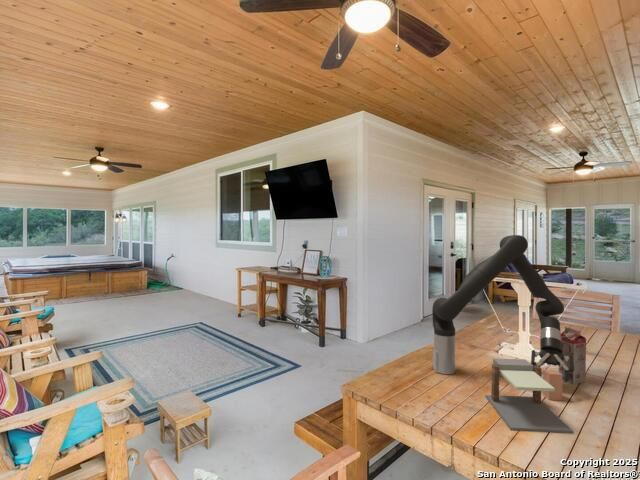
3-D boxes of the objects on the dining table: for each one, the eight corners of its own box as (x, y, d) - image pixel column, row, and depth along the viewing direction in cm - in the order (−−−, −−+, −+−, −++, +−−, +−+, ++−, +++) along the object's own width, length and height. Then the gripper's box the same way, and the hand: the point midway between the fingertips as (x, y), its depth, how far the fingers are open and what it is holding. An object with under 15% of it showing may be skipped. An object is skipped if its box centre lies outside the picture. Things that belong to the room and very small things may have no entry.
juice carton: (573, 383, 144) (574, 332, 143) (558, 377, 150) (559, 327, 150) (585, 381, 146) (586, 330, 145) (570, 375, 152) (571, 326, 151)
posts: (493, 403, 128) (494, 366, 128) (491, 400, 131) (491, 364, 130) (541, 405, 127) (541, 368, 126) (537, 402, 129) (538, 365, 129)
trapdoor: (492, 371, 135) (493, 358, 135) (525, 372, 134) (525, 359, 134) (516, 395, 115) (516, 381, 115) (554, 397, 114) (554, 382, 114)
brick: (549, 399, 131) (549, 374, 131) (542, 394, 136) (543, 369, 135) (561, 400, 131) (562, 374, 130) (555, 394, 135) (555, 369, 135)
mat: (510, 429, 112) (510, 427, 112) (485, 396, 134) (485, 394, 134) (573, 433, 110) (573, 430, 110) (537, 399, 132) (537, 396, 132)
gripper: (531, 334, 145) (531, 370, 135) (572, 339, 137) (576, 378, 128) (530, 342, 149) (530, 378, 140) (571, 348, 142) (574, 386, 133)
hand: (552, 378), depth 134 cm, fingers open, 8 cm apart
